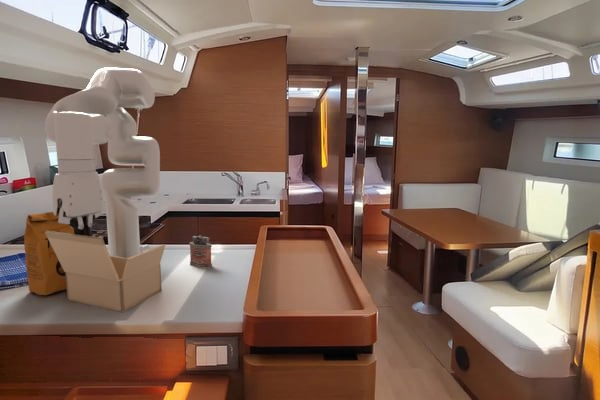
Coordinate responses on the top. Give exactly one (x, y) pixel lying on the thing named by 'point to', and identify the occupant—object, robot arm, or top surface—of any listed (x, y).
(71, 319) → the top surface
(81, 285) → the carton
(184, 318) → the top surface
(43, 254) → the coffee package
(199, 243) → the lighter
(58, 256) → the lid flap
